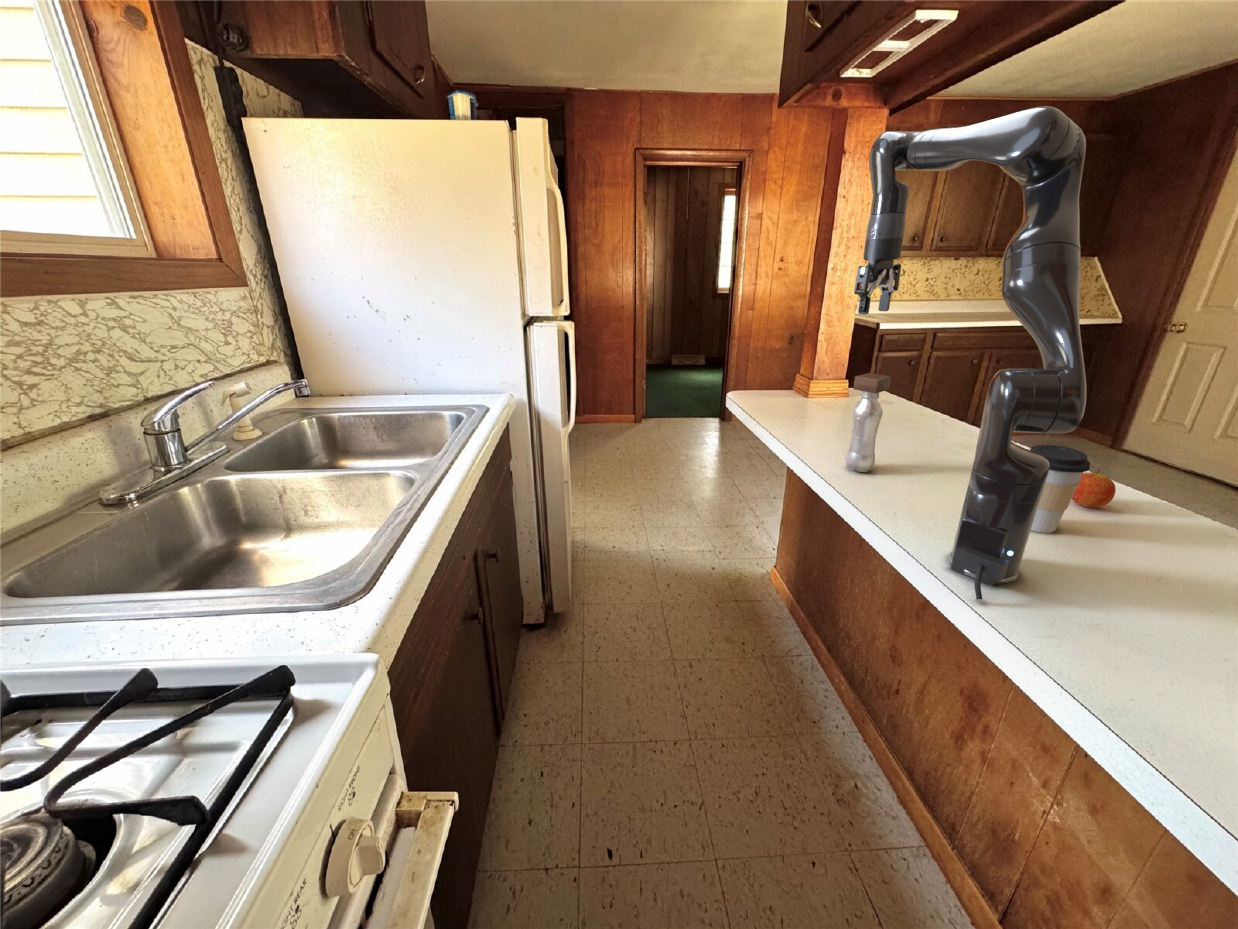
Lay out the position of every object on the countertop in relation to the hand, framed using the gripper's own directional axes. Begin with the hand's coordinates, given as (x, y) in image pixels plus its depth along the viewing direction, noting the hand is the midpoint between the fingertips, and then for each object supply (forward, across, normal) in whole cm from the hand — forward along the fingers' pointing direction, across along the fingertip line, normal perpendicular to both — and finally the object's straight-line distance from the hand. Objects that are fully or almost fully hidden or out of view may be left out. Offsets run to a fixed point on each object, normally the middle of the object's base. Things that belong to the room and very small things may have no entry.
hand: (873, 312), depth 119 cm
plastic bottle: (+36, -7, -6) cm, 37 cm away
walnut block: (+16, -7, -6) cm, 19 cm away
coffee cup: (+36, -7, -42) cm, 56 cm away
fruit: (+36, +10, -45) cm, 59 cm away
